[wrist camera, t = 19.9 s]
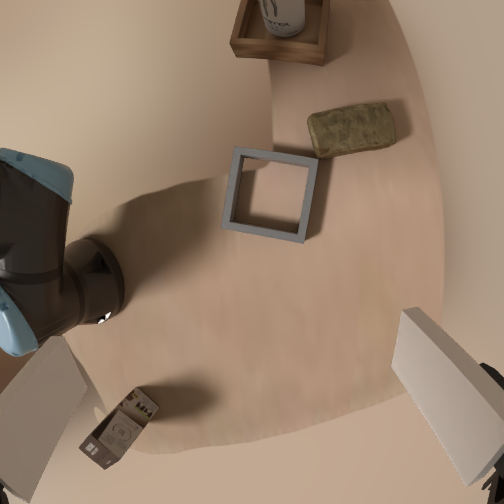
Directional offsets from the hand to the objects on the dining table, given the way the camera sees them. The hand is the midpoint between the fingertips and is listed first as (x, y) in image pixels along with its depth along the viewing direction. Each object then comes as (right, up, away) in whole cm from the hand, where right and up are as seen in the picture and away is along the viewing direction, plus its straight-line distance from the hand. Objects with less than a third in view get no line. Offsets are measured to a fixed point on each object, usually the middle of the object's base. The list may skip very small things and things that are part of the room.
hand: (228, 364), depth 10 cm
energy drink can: (+6, +38, +24) cm, 45 cm away
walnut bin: (+6, +38, +25) cm, 46 cm away
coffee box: (-22, -27, +40) cm, 53 cm away
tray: (+3, +12, +29) cm, 32 cm away
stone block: (+14, +20, +27) cm, 36 cm away
